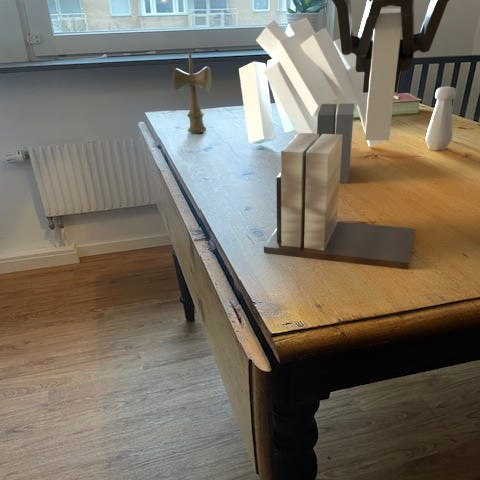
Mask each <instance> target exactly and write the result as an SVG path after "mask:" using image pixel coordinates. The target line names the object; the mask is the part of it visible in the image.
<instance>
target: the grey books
mask: <svg viewBox="0 0 480 480" xmlns="http://www.w3.org/2000/svg"><path fill="white" fill-rule="evenodd" d="M336 107H337V104H322V105H321V107H320V110H319V113H318V119H317V129H316V134H319V137H320V136H321V135H322V134H342V135H343V136H342V153H341V169H340V184H345V185H346V184H349V179H350V171H351V170H350V169H351V156H352V144H353V142H352V141H353V131H354V130H353V128H354V119H353V116H354V104H339V107H338V111H337V117H336ZM335 126H336V128H335Z"/></svg>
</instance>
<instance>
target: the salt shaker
mask: <svg viewBox="0 0 480 480" xmlns="http://www.w3.org/2000/svg"><path fill="white" fill-rule="evenodd" d="M456 95H457V89H456V88H455V87H452V86H440V87H438V88H437V89H436V90H435V94H434V98H435V99H436V103H435V106H434V109H433V112H432V115H431V118H430V121H429V123H428V124H429V125H428V128H427V131H426V134H425V142H426V147H427V149H428V150H431V151H436V152H437V151H445V150H446V149H447V147H448V146H449V145H450V143H451V141H452V140H453V100H454V99H456Z"/></svg>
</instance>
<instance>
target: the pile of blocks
mask: <svg viewBox="0 0 480 480" xmlns="http://www.w3.org/2000/svg"><path fill="white" fill-rule="evenodd" d="M255 42H256V43H257V44H258V45H259V46H260V48H262V49H263V50H264V51H265V52H266V53H267V55H268V56H269V57H270V58H271V59H268V60H267V63H265V62H260V61H251V62H250V63H247V64H245V65H243V66H242V67H239V68H238V73H239V82H240V88H241V95H242V96H241V97H242V103H243V110H244V111H243V112H244V118H245V125H246V132H247V139H248V144H255V145H257V144H258V145H260V144H263V143H268V142H270V141H273V140H276V135H275V129H274V119H273V112H272V105H271V96H270V89H271V93H272V96H273V99H274V102H275V105H276V108H277V109H276V110H277V111H278V115H279V117H280V121H281V124H282V127H283V128H282V129H283V131H284V133H285V132H287V133H290V132H294V131H295V133H296V136H297V135H298V134H299V133H313V134H314V132H315V131H317V119H318V113H319V110H320V107H321V105H322V104H337V107H336V117H337V111H338V107H339V104H354V107H356V106H357V109H358V112H359V115H360V119H359V120H360V121H361V125H362V129H363V132H364V133H365V124H366V111H367V100H368V93H363V83H364V72H357V71H356V55H355V54H354V53H351V54H349V55H344V54H342V50H341V41H340V38H338V39H335V40H333V39H332V37H331V35H330V34H329V31H328V29H327V27H326V26H325V27H323V28H321V29H320V30H318V31H317V32H316V31H315V29H314V27H313V26H312V24H311V22H310V21H309V20H308V18H307V17H304V18H301V19H298V20H296V21H293V22H290V23H288V25H287V27H286V29H285V30H284V29H283V28H282V27H281V26H280V25H279V23H278V22H276V21H275V20H272V21H271V22H270V23H269V24H267V25H266V26H265V27H264V28H263V30H262V31H261V32H260V34H259V35H258V37H257V38H256V40H255ZM269 87H270V89H269ZM335 129H336V126H335ZM391 139H393V136H392V132H391V130H390V134H389V140H391ZM385 141H387V140H366V142H367V145H368V147H373V146H376V145H378V144H381V143H383V142H385Z"/></svg>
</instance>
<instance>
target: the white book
mask: <svg viewBox="0 0 480 480" xmlns="http://www.w3.org/2000/svg"><path fill="white" fill-rule="evenodd" d="M401 38H402V17H401V8H400V7H399V8H398V7H397V8H381V11H380V14H379V17H378V18H377V21H376V24H375V28H374V31H373V34H372V40H373V47H372V60H371V70H370V80H369V90H368V100H367V111H366V124H365V132H364V140H365V141H367V140H386V141H390V139H389V134H390V131H391V124H392V117H393V116H392V107H393V98H394V94H395V92H394V90H395V81H396V72H397V63H398V54H399V45H400V39H401ZM391 116H392V117H391Z"/></svg>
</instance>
